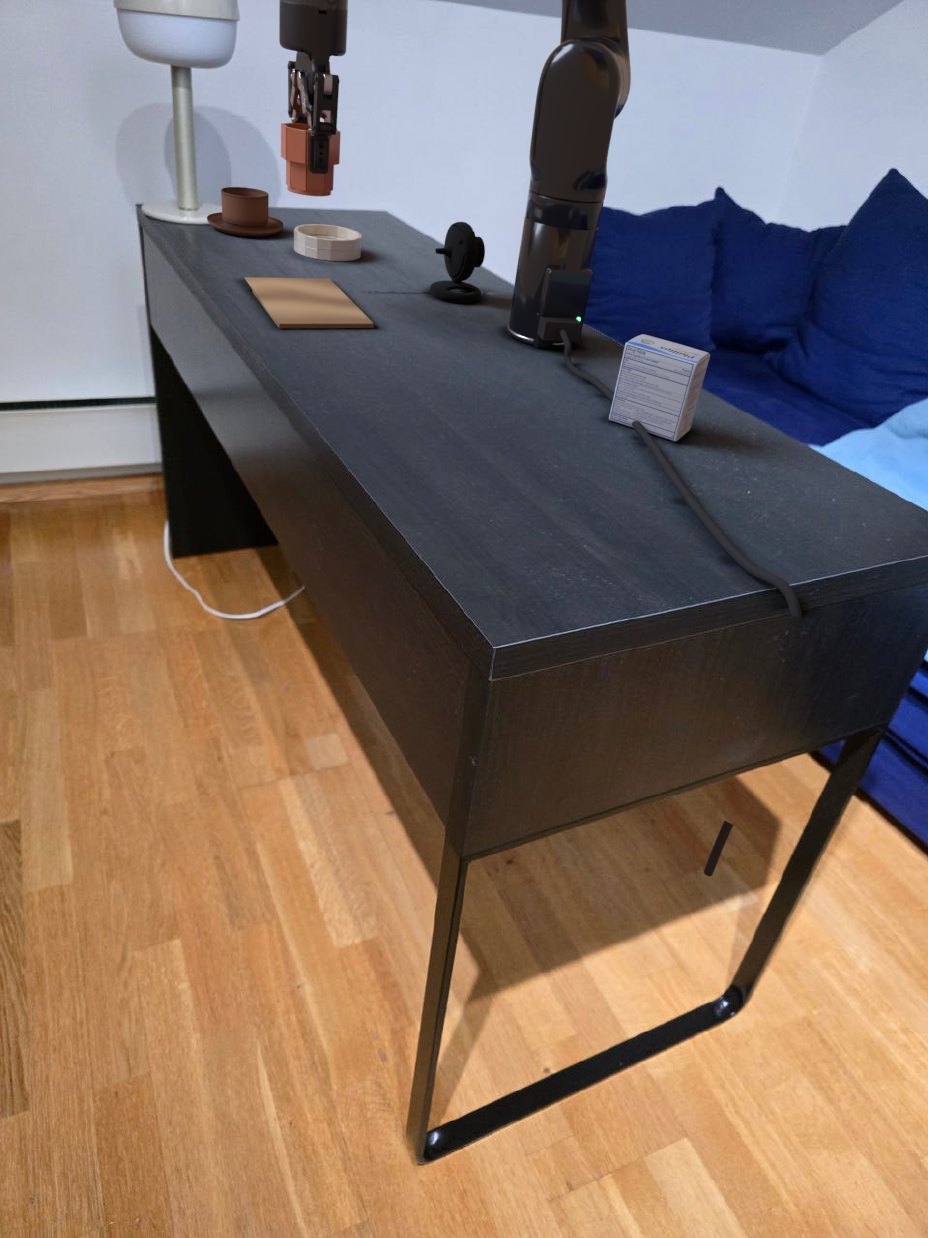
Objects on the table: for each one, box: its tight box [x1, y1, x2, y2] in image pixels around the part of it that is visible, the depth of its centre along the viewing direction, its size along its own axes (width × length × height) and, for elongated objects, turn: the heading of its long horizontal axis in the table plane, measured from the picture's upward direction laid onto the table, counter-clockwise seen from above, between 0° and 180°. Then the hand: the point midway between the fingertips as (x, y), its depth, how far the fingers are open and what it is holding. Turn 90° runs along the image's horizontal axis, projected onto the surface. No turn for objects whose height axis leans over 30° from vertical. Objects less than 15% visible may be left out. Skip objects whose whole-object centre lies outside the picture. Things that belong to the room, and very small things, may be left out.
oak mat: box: [244, 276, 375, 330], centre depth 115 cm, size 20×12×1 cm, turn 23°
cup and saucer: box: [206, 186, 284, 238], centre depth 141 cm, size 12×12×6 cm
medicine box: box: [608, 333, 711, 443], centre depth 92 cm, size 8×4×9 cm, turn 58°
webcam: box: [429, 221, 486, 304], centre depth 125 cm, size 8×8×10 cm
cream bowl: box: [293, 223, 363, 262], centre depth 137 cm, size 10×10×4 cm
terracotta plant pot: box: [280, 122, 342, 197], centre depth 107 cm, size 7×7×7 cm
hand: (310, 166), depth 107 cm, fingers closed on terracotta plant pot, 6 cm apart
